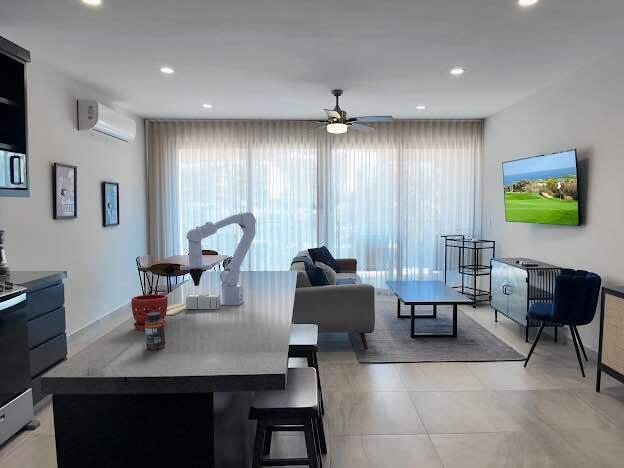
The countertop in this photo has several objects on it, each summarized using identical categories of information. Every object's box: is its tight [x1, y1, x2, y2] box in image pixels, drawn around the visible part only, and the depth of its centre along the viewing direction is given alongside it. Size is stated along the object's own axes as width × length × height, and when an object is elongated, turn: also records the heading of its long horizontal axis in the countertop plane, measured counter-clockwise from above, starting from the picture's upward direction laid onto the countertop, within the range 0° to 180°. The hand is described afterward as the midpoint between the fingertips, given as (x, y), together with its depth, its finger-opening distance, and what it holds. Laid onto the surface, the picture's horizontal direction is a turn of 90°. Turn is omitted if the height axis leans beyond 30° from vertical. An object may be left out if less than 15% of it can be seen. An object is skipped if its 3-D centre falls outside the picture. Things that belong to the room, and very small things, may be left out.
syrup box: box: [185, 293, 221, 310], centre depth 205 cm, size 6×6×14 cm
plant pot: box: [130, 294, 169, 331], centre depth 175 cm, size 13×13×12 cm
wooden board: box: [165, 303, 188, 317], centre depth 204 cm, size 12×20×1 cm, turn 169°
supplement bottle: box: [144, 312, 166, 351], centre depth 149 cm, size 6×6×11 cm
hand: (196, 285), depth 206 cm, fingers closed
